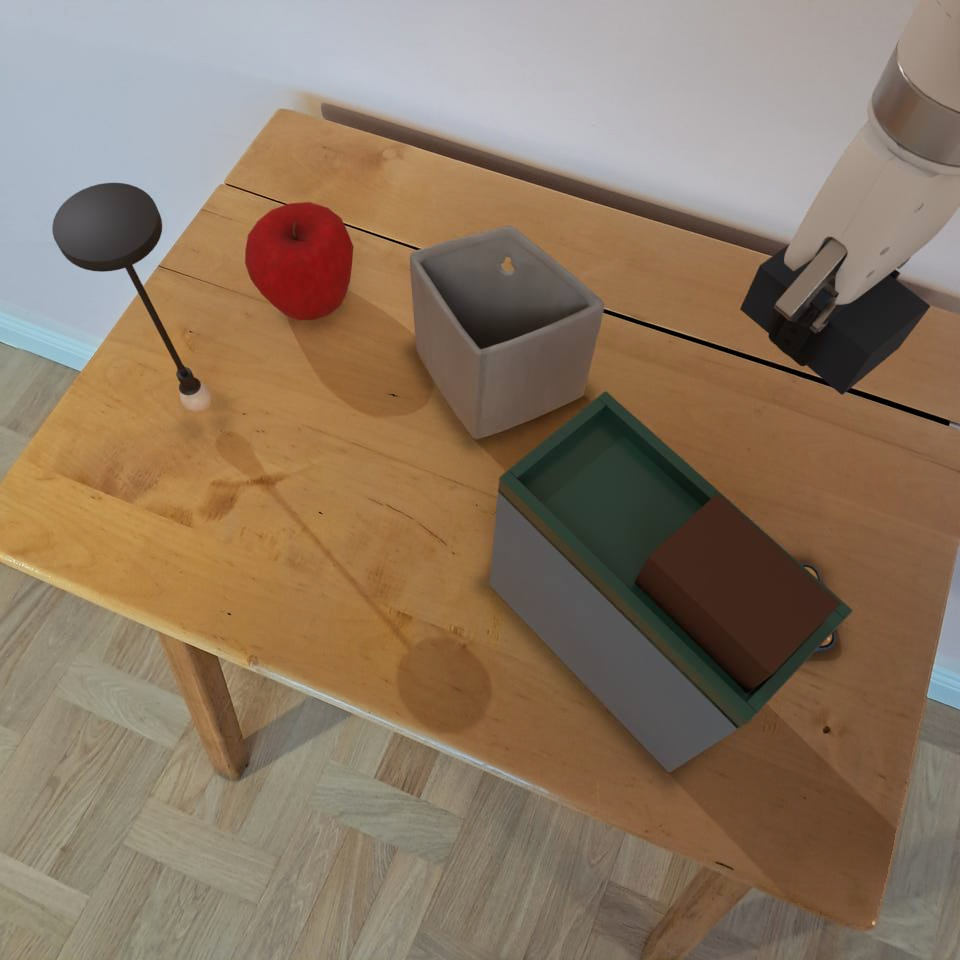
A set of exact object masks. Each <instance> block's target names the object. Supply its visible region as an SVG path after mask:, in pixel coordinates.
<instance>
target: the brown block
mask: <svg viewBox="0 0 960 960" xmlns="http://www.w3.org/2000/svg"><path fill="white" fill-rule="evenodd" d="M635 584H636V585H637V586H638V587H639V588H640V589H641V590H642V591H643V592H644V593H645V594H646V595H647V596H648V597H649V598H650V599H651V600H652V601H653V602H654V603H656V604H657V605H658V606H659V607H660V608H661V609H662V610H663V611H664V612H665V613H666V614H667V615H668V616H669V617H670V618H671V619H672V620H673V621H674V622H675V623H676V624H677V625H678V626H679V627H680V628H681V629H682V630H683V631H684V632H685V633H686V634H687V635H688V636H689V637H690V638H691V639H692V640H693V641H694V642H695V643H696V644H697V645H698V646H699V647H700V648H701V649H703V650H704V651H705V652H706V653H707V654H708V655H709V656H710V657H711V658H712V659H713V660H714V661H715V662H716V663H717V664H718V665H719V666H720V667H721V668H722V669H723V670H724V671H725V672H726V673H727V674H728V675H729V676H730V677H731V678H732V679H733V680H734V681H735V682H736V683H737V684H738V685H739V686H740V687H741V688H742V689H743V690H744V691H745V692H747V693H748V692H749V691H751V690H752V689H753V688H755V687H756V686H757V685H759V684H760V683H761V682H763V681H764V680H766V679H767V678H768V677H770V676H771V675H772V674H773V673H774V672H775V671H776V670H777V669H778V668H779V667H780V666H781V665H782V664H783V663H784V662H785V661H786V660H787V659H788V658H789V657H790V656H791V655H792V654H793V653H794V652H795V650H796V649H797V648H798V647H799V646H800V645H801V644H802V643H803V642H804V641H805V640H806V639H807V638H808V637H809V636H810V635H811V634H812V633H813V632H814V631H815V630H816V629H817V628H818V627H819V626H820V624H821V623H822V622H823V621H824V620H825V619H826V618H827V617H828V616H829V615H830V614H831V613H832V612H833V611H834V610H835V609H836V608H837V607H838V606H839V605H840V602H839V601H838V600H837V599H836V598H835V597H834V596H833V595H831V594H830V593H829V592H828V591H827V590H826V589H825V588H824V587H822V586H821V585H820V584H819V583H818V582H817V581H816V580H815V579H814V578H812V577H811V576H810V575H809V574H808V573H807V572H806V571H805V570H804V569H802V568H801V567H800V566H799V565H798V564H797V563H796V562H795V561H793V560H792V559H791V558H790V557H789V556H788V555H787V554H786V553H785V552H783V551H782V550H781V549H780V548H779V547H778V546H777V545H776V544H775V543H773V542H772V541H771V540H770V539H769V538H768V537H767V536H766V535H765V534H763V533H762V532H761V531H760V530H759V529H758V528H757V527H756V526H754V525H753V524H752V523H751V522H750V521H749V520H748V519H747V518H746V517H744V516H743V515H742V514H741V513H740V512H739V511H738V510H737V509H736V508H734V507H733V506H732V505H731V504H730V503H729V502H728V501H727V500H725V499H724V498H723V497H722V496H721V495H720V494H719V493H717V494H716V495H715V496H714V497H712V498H711V499H710V500H709V501H708V502H707V503H706V504H705V505H704V506H703V507H701V508H700V509H699V510H698V511H697V512H696V513H695V514H694V515H693V516H692V517H690V518H689V519H688V520H687V521H686V522H685V523H684V524H683V525H682V526H681V527H679V528H678V529H677V530H676V531H675V532H674V533H673V534H672V535H671V536H670V537H668V538H667V539H666V540H665V541H664V542H663V543H662V544H661V545H660V546H659V547H657V548H656V549H655V550H654V551H653V552H652V553H651V554H650V555H649V556H648V558H647V560H646V562H645V563H644V565H643V567H642V569H641V571H640V573H639V574H638V576H637V578H636V580H635Z"/></svg>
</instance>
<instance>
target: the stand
mask: <svg viewBox="0 0 960 960" xmlns="http://www.w3.org/2000/svg"><path fill="white" fill-rule="evenodd" d="M495 506H496V508H495V515H494V517H495V518H494V528H493V537H492V547H491V549H492V550H491V559H490V569H489V570H490V571H489V578H488V579H489V580H488V586H489V587H490V588H491V589H492V590H493V591H494V592H495V593H496V594H497V595H498V596H499V597H500V598H501V599H502V600H503V602H505V604H506V605H508V606H509V607H510V609H511V610H512V611H513V612H514V613H515V614H516V615H517V616H518V617H519V618H520V619H521V620H522V621H523V622H524V623H525V624H526V626H528V628H529V629H531V631H532V632H533V633H534V634H535V635H536V636H537V637H538V638H539V639H540V640H541V641H542V642H543V644H545V645H546V646H547V647H548V648H549V650H550V651H551V652H553V654H554V655H555V656H556V657H557V658H558V659H559V660H560V661H561V662H562V663H563V664H564V665H565V666H566V668H567V669H568V670H569V671H571V673H572V674H573V675H574V676H575V677H576V678H577V679H578V680H579V681H580V682H581V683H582V684H583V685H584V686H585V687H586V688H587V689H588V691H590V692H591V694H593V695H594V697H595V698H596V699H597V700H598V701H599V702H600V703H601V704H602V706H604V707H605V708H606V709H607V711H609V712H610V713H611V714H612V715H613V716H614V717H615V718H616V720H618V722H619V723H620V724H621V725H622V726H623V727H624V728H625V729H626V731H628V732H629V733H630V734H631V736H633V737H634V738H635V740H637V742H638V743H640V745H641V746H642V747H643V748H644V749H645V750H646V751H647V752H648V753H649V754H650V755H651V756H652V757H653V758H654V759H655V761H657V762H658V763H659V765H660V766H661V767H662V768H663V769H664V770H665V771H666V772H667V773H668V774H669V773H671V772H673V771H675V770H676V769H678V768H679V767H681V766H683V765H684V764H685V763H687V762H689V761H690V760H692V759H693V758H695V757H696V756H698V755H700V754H701V753H703V752H704V751H706V750H707V749H710V748H711V747H712V746H714V745H715V744H717V743H718V742H720V741H722V740H723V739H725V738H726V737H728V736H729V735H731V734H732V733H735V732H736V731H737V730H738V729H737V728H736V727H735V726H734V725H733V724H732V723H731V722H730V721H729V720H728V719H727V718H726V717H725V716H724V715H723V714H722V713H721V712H720V711H719V710H718V709H717V708H716V707H715V706H714V705H713V704H712V703H711V702H709V701H708V700H707V699H706V698H705V697H704V696H703V695H702V694H701V693H700V692H699V691H698V690H697V689H696V688H695V687H694V686H693V685H692V684H691V683H690V682H689V681H688V680H687V679H686V678H685V677H684V676H683V675H682V674H681V673H680V672H679V671H678V670H677V669H676V668H675V667H674V666H673V665H672V664H671V663H670V662H669V661H668V660H667V659H666V658H665V657H664V656H663V655H662V654H661V653H660V652H659V651H658V650H657V649H656V648H655V647H654V646H653V645H652V644H651V643H650V642H649V641H648V640H647V639H646V638H645V637H644V636H643V635H642V634H641V633H640V632H639V631H638V630H637V629H636V628H635V627H634V626H633V625H632V624H631V623H630V622H629V621H628V620H627V619H626V618H625V617H624V616H623V615H622V614H621V613H620V612H619V611H618V610H617V609H616V608H615V607H614V606H613V605H612V604H611V603H610V602H609V601H608V600H607V599H606V598H605V597H604V596H603V595H602V594H601V593H600V592H599V591H598V590H597V589H596V588H595V587H594V586H593V585H592V584H591V583H590V582H589V581H588V580H587V579H586V578H585V577H584V576H583V575H581V574H580V573H579V572H578V571H577V570H576V569H575V568H574V567H573V566H572V565H571V564H570V563H569V562H568V561H567V560H566V559H565V558H564V557H563V556H562V555H561V554H560V553H559V552H558V551H557V550H556V549H555V548H554V547H553V546H552V545H551V544H550V543H549V542H548V541H547V540H546V539H545V538H544V537H543V536H542V535H541V534H540V533H539V532H538V531H537V530H536V529H535V528H534V527H533V526H532V525H531V524H530V523H529V522H528V521H527V520H526V519H525V518H524V517H523V516H522V515H521V514H520V513H519V512H518V511H517V510H516V509H515V508H514V507H513V506H512V505H511V504H510V503H509V502H508V501H507V500H506V499H505V498H504V497H503V496H502V495H501V494H500V493H499V492H498V491H497V498H496V505H495Z"/></svg>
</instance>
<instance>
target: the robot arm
mask: <svg viewBox="0 0 960 960" xmlns="http://www.w3.org/2000/svg"><path fill="white" fill-rule="evenodd" d="M866 112H867V118H868V120H867V121H866V122H865V124H864V125H863V126H862V127H861V128H860V129H859V131H858V132H857V133H856V135H855V136H854V137H853V139H852V140H851V141H850V142H849V144H848V146H847V147H846V148H845V150H844V151H843V153H842V154H841V156H840V157H839V158H838V160H837V162H836V163H835V165H834V166H833V168H832V170H831V171H830V173H829V174H828V176H827V177H826V179H825V181H824V183H823V184H822V186H821V188H820V190H819V191H818V193H817V194H816V196H815V198H814V199H813V201H812V203H811V205H810V207H809V209H808V211H807V212H806V214H805V215H804V218H803V219H802V221H801V223H800V225H799V226H798V228H797V230H796V232H795V234H794V235H793V237H792V239H791V241H790V243H789V244H790V245H789V244H788V245H789V247H788V249H787V251H786V253H785V257H784V263H785V265H786V266H788V267H789V268H790V269H791V270H793V271H795V270H797V269H798V268H800V267H801V266H803V265H804V264H806V263H807V262H809V261H810V260H812V259H813V258H814V259H813V260H812V262H811V263H810V264H809V265H808V266H807V267H806V268H805V270H804V271H803V272H802V273H801V274H800V275H799V277H798V278H797V279H796V280H795V281H794V282H793V284H792V285H791V286H790V287H789V288H788V289H787V290H786V292H785V293H784V294H783V295H782V296H781V297H780V299H779V300H778V301H777V302H776V304H775V305H774V308H775V309H776V310H777V311H779V312H780V313H779V315H778V317H777V319H776V321H775V323H774V325H773V327H772V329H771V331H770V333H768V335H767V336H768V339H769V341H770V342H771V343H772V344H774V345H775V346H776V348H778V349H779V350H780V351H781V352H782V353H783V354H785V355H786V356H788V357H789V358H790V359H791V360H793V361H794V362H795V363H796V364H797V365H799V366H800V367H805V366H806V367H807V364H808V363H809V362H810V361H811V360H812V358H813V357H814V355H815V354H816V352H817V350H818V349H819V347H820V346H821V344H822V342H823V341H824V339H825V337H826V336H827V334H828V333H829V331H830V329H831V328H832V327H831V326H830V325H829V324H828V322H829V321H830V320H831V318H832V317H833V316H834V315H835V313H836V312H837V311H838V309H839V308H840V307H841V306H842V304H848V303H851V302H853V301H854V300H856V299H857V298H859V297H860V296H861V295H863V294H864V293H865V292H867V291H868V290H869V289H871V288H872V287H873V286H874V285H876V284H877V283H878V282H880V281H881V280H882V279H883V278H885V277H886V276H887V275H891V276H892V277H893V278H895V279H896V280H897V279H898V277H899V276H900V275H901V272H900V271H898V270H900V269H902V268H903V267H904V266H905V265H906V264H907V263H908V262H909V261H910V259H911V258H912V257H913V256H914V255H916V253H918V252H919V251H920V250H921V249H923V248H924V247H925V246H927V244H928V243H929V242H931V241H932V240H933V239H934V238H935V237H936V236H937V235H938V234H939V233H940V232H941V230H943V228H944V227H945V226H946V225H947V224H948V222H949V221H950V220H951V219H952V217H954V214H955V213H956V212H957V211H958V209H959V208H960V0H917V2H916V4H915V6H914V8H913V10H912V12H911V14H910V16H909V18H908V20H907V22H906V24H905V26H904V28H903V30H902V32H901V34H900V36H899V39H898V41H897V42H896V45H895V46H894V49H893V51H892V52H891V54H890V57H889V59H888V61H887V63H886V65H885V66H884V69H883V70H882V73H881V75H880V77H879V79H878V81H877V83H876V85H875V86H874V88H873V91H872V92H871V95H870V97H869V98H868V102H867V111H866ZM837 271H838V272H837ZM836 272H837V273H836ZM835 273H836V277H835V276H834V274H835ZM821 289H822V290H824V291H825V292H826V293H827V294H829V295H830V296H831V299H830V300H829V301H828V303H827V304H826V305H825V307H824V308H823V309H822V311H821V310H820V309H819V308H818V307H816V306H815V305H814V304H813V303H811V301H812V299H813V298H814V297H815V296H816V295H817V294H818V292H819V291H820V290H821Z"/></svg>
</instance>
